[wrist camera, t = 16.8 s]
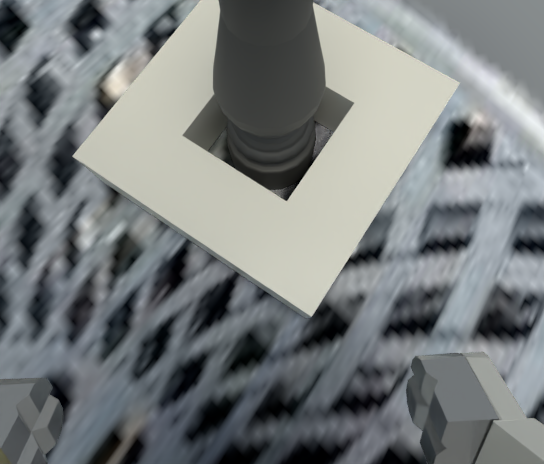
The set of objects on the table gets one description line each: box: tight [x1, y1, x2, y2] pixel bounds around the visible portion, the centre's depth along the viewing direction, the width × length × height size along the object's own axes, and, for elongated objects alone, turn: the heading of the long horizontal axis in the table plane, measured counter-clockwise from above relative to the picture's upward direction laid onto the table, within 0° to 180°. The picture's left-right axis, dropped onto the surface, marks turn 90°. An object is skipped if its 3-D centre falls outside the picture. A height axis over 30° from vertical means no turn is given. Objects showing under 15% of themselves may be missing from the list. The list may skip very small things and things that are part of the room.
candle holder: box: [213, 0, 326, 190], centre depth 19 cm, size 6×6×25 cm
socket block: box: [73, 0, 460, 318], centre depth 29 cm, size 18×18×5 cm
